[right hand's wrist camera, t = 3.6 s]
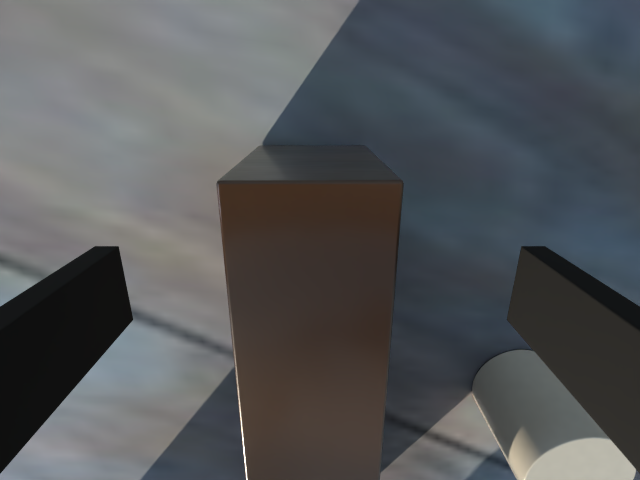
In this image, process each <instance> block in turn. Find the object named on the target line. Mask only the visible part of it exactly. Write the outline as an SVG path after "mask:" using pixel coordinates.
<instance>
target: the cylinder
mask: <svg viewBox="0 0 640 480" xmlns="http://www.w3.org/2000/svg"><path fill="white" fill-rule="evenodd" d="M472 393H473V397H474V400H475V402H476V404H477V406H478V408H479V409H480V411H481V413H482V415H483V417H484V419H485V421H486V423H487V425H488V426H489V428H490V430H491V432H492V434H493V436H494V438H495V440H496V442H497V443H498V445H499V447H500V449H501V451H502V453H503V455H504V457H505V459H506V460H507V462H508V464H509V466H510V468H511V470H512V472H513V474H514V476H515V477H516V479H517V480H633V479H634V477H635V474H636V469H635V468H634V466H633V465H632V464H631V463H630V462H629V461H628V459H627V458H626V457H625V456H624V455H623V454H622V452H621V451H620V450H619V449H618V448H617V447H616V446H615V444H614V443H613V442H612V441H611V440H610V439H609V437H608V436H607V435H606V434H605V433H604V432H603V430H602V429H601V428H600V427H599V426H598V425H597V423H596V422H595V421H594V420H593V419H592V418H591V417H590V415H589V414H588V413H587V412H586V411H585V410H584V408H583V407H582V406H581V405H580V404H579V403H578V401H577V400H576V399H575V398H574V397H573V396H572V395H571V393H570V392H569V391H568V390H567V389H566V388H565V386H564V385H563V384H562V383H561V382H560V381H559V379H558V378H557V377H556V376H555V375H554V374H553V373H552V371H551V370H550V369H549V368H548V367H547V366H546V364H545V363H544V362H543V361H542V360H541V359H540V357H539V356H538V355H537V354H536V353H535V352H534V351H531V350H513V351H508V352H505V353H502V354H500V355H498V356H496V357H494V358H492V359H491V360H489V361H488V362H487V363H485V364H484V365H483V366H482V367H481V369H480V370H479V371H478V373H477V374H476V376H475V378H474V381H473V386H472Z"/></svg>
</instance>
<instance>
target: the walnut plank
mask: <svg viewBox="0 0 640 480" xmlns="http://www.w3.org/2000/svg"><path fill="white" fill-rule="evenodd" d="M403 184H404V183H403V181H402V180H401V179H400V178H399V177H398V176H397V175H396V174H395V173H394V172H393V171H392V170H391V169H389V168H388V167H387V166H386V165H385V164H384V163H383V162H382V161H381V160H380V159H379V158H378V157H377V156H376V155H375V154H373V153H372V152H371V151H370V150H369V149H368V148H367V147H366V146H259V147H257V148H256V149H255V150H254V151H253V152H251V153H250V154H249V155H248V156H247V157H246V158H244V159H243V160H242V161H241V162H240V163H238V164H237V165H236V166H235V167H234V168H233V169H231V170H230V171H229V172H228V173H227V174H225V175H224V176H223V177H222V178H221V179H220V180H218V181H217V194H218V204H219V214H220V224H221V234H222V244H223V254H224V264H225V274H226V284H227V295H228V305H229V315H230V325H231V335H232V345H233V355H234V365H235V375H236V385H237V395H238V405H239V415H240V425H241V435H242V446H243V456H244V466H245V476H246V480H380V470H381V458H382V445H383V433H384V420H385V408H386V395H387V383H388V371H389V358H390V346H391V333H392V321H393V308H394V296H395V283H396V271H397V258H398V246H399V234H400V221H401V209H402V196H403Z"/></svg>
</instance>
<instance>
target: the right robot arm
mask: <svg viewBox="0 0 640 480" xmlns="http://www.w3.org/2000/svg"><path fill="white" fill-rule="evenodd" d="M132 320H133V317H132V312H131V307H130V302H129V297H128V292H127V287H126V282H125V277H124V271H123V266H122V261H121V256H120V251H119V246H95V247H93V248H92V249H90V250H89V251H87V252H85V253H84V254H82V255H81V256H79V257H78V258H76V259H74V260H73V261H71V262H70V263H68V264H67V265H65V266H63V267H62V268H60V269H59V270H57V271H56V272H54V273H52V274H51V275H49V276H48V277H46V278H45V279H43V280H41V281H40V282H38V283H37V284H35V285H34V286H32V287H30V288H29V289H27V290H26V291H24V292H23V293H21V294H19V295H18V296H16V297H15V298H13V299H12V300H10V301H8V302H7V303H5V304H4V305H2V306H1V307H0V473H1V472H2V471H3V470H4V469H5V468H6V466H7V465H8V464H9V463H10V462H11V461H12V459H13V458H14V457H15V456H16V455H17V454H18V452H19V451H20V450H21V449H22V448H23V447H24V446H25V444H26V443H27V442H28V441H29V440H30V439H31V437H32V436H33V435H34V434H35V433H36V432H37V430H38V429H39V428H40V427H41V426H42V425H43V423H44V422H45V421H46V420H47V419H48V418H49V417H50V415H51V414H52V413H53V412H54V411H55V410H56V408H57V407H58V406H59V405H60V404H61V403H62V401H63V400H64V399H65V398H66V397H67V396H68V395H69V393H70V392H71V391H72V390H73V389H74V388H75V386H76V385H77V384H78V383H79V382H80V381H81V379H82V378H83V377H84V376H85V375H86V374H87V373H88V371H89V370H90V369H91V368H92V367H93V366H94V364H95V363H96V362H97V361H98V360H99V359H100V357H101V356H102V355H103V354H104V353H105V352H106V350H107V349H108V348H109V347H110V346H111V345H112V344H113V342H114V341H115V340H116V339H117V338H118V337H119V335H120V334H121V333H122V332H123V331H124V330H125V328H126V327H127V326H128V325H129V324H130V323H131V322H132ZM507 320H508V322H509V323H510V324H511V325H512V326H513V327H514V328H515V330H516V331H517V332H518V333H519V334H520V335H521V337H522V338H523V339H524V340H525V341H526V342H527V344H528V345H529V346H530V347H531V348H532V349H533V350H534V352H535V353H536V354H537V355H538V356H539V357H540V359H541V360H542V361H543V362H544V363H545V364H546V366H547V367H548V368H549V369H550V370H551V371H552V373H553V374H554V375H555V376H556V377H557V378H558V379H559V381H560V382H561V383H562V384H563V385H564V386H565V388H566V389H567V390H568V391H569V392H570V393H571V395H572V396H573V397H574V398H575V399H576V400H577V401H578V403H579V404H580V405H581V406H582V407H583V408H584V410H585V411H586V412H587V413H588V414H589V415H590V417H591V418H592V419H593V420H594V421H595V422H596V423H597V425H598V426H599V427H600V428H601V429H602V430H603V432H604V433H605V434H606V435H607V436H608V437H609V439H610V440H611V441H612V442H613V443H614V444H615V446H616V447H617V448H618V449H619V450H620V451H621V452H622V454H623V455H624V456H625V457H626V458H627V459H628V461H629V462H630V463H631V464H632V465H633V466H634V468H635V469H636V470H637V471H638V472H639V473H640V307H639V306H638V305H636V304H635V303H633V302H632V301H630V300H628V299H627V298H625V297H624V296H622V295H621V294H619V293H617V292H616V291H614V290H613V289H611V288H610V287H608V286H606V285H605V284H603V283H602V282H600V281H599V280H597V279H595V278H594V277H592V276H591V275H589V274H588V273H586V272H584V271H583V270H581V269H580V268H578V267H577V266H575V265H573V264H572V263H570V262H569V261H567V260H566V259H564V258H562V257H561V256H559V255H558V254H556V253H555V252H553V251H551V250H550V249H548V248H547V247H545V246H521V251H520V256H519V261H518V266H517V271H516V277H515V282H514V287H513V292H512V297H511V302H510V307H509V312H508V317H507Z"/></svg>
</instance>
